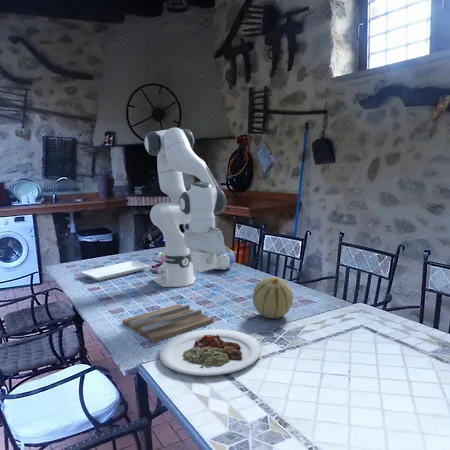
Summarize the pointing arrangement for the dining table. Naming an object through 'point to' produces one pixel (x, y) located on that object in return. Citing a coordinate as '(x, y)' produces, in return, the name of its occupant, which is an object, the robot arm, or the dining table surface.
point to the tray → (114, 270)
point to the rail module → (203, 261)
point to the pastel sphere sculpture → (161, 255)
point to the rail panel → (167, 322)
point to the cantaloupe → (272, 297)
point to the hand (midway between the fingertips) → (204, 262)
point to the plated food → (210, 352)
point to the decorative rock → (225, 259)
